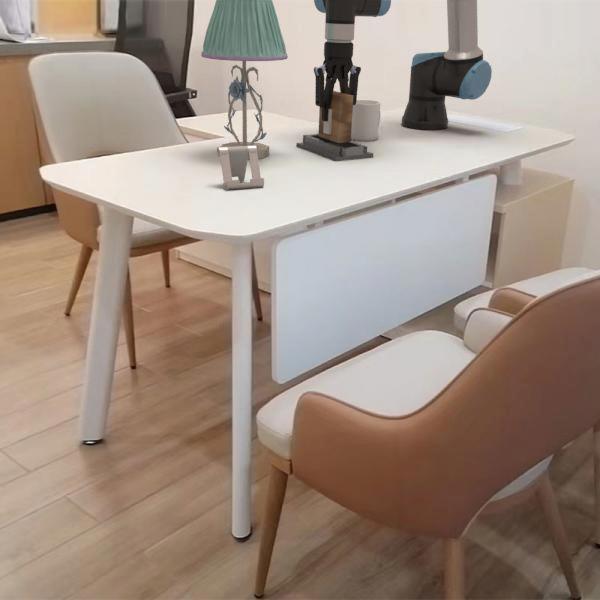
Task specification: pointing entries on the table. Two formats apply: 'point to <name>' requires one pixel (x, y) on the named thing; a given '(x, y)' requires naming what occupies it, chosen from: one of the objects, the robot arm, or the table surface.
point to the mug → (365, 120)
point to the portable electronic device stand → (239, 166)
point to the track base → (334, 148)
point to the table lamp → (244, 51)
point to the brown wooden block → (339, 118)
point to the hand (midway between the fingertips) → (334, 132)
